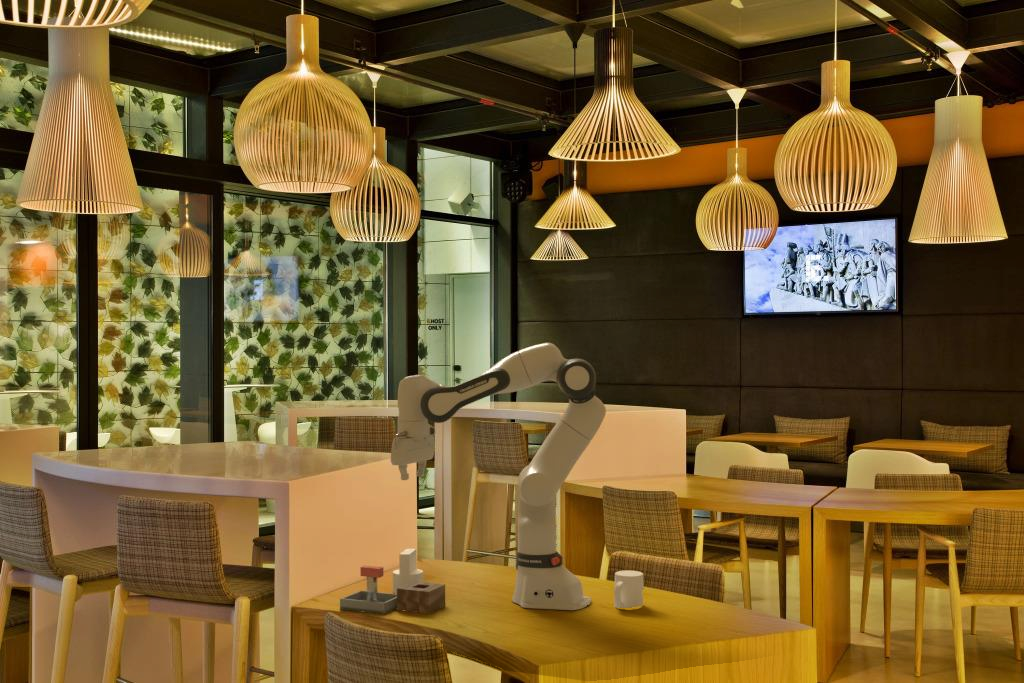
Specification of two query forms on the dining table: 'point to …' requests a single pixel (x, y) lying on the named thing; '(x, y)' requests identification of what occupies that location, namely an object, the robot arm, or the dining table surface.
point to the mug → (628, 589)
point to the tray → (369, 602)
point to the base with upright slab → (406, 570)
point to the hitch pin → (372, 580)
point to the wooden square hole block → (420, 596)
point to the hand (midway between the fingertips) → (412, 478)
